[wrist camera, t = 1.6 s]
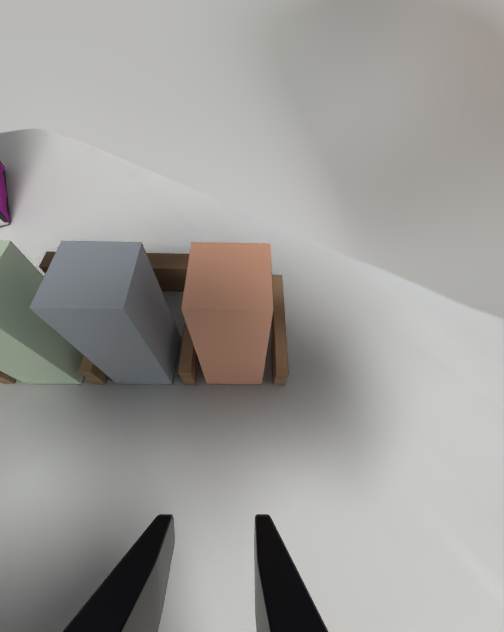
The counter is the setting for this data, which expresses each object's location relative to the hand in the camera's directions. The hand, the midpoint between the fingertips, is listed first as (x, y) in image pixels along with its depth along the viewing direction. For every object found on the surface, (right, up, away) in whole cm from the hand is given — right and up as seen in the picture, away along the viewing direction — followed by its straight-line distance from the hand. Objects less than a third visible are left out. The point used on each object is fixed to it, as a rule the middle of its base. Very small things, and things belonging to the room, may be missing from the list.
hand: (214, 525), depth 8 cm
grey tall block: (-7, +3, +14) cm, 16 cm away
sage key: (-13, +3, +14) cm, 19 cm away
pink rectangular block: (0, +3, +14) cm, 14 cm away
